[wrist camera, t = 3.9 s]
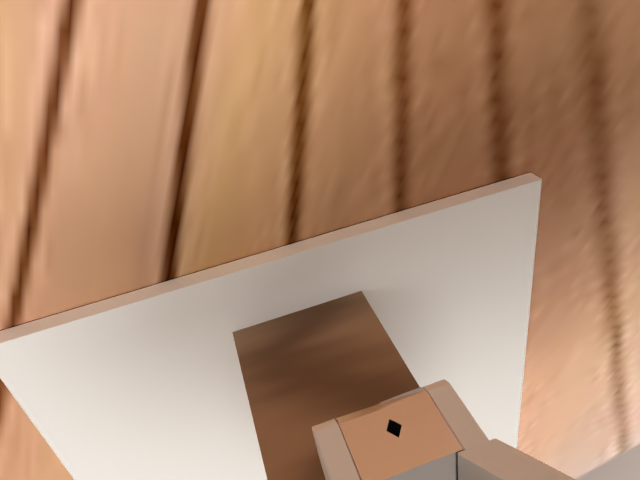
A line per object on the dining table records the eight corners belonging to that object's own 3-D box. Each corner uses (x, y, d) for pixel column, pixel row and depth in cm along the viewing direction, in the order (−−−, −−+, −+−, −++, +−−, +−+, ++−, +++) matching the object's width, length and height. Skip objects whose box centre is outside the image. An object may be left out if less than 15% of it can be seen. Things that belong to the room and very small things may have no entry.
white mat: (531, 172, 24) (542, 179, 24) (507, 471, 38) (513, 480, 37) (-16, 335, 20) (-21, 349, 20) (173, 603, 34) (174, 617, 33)
